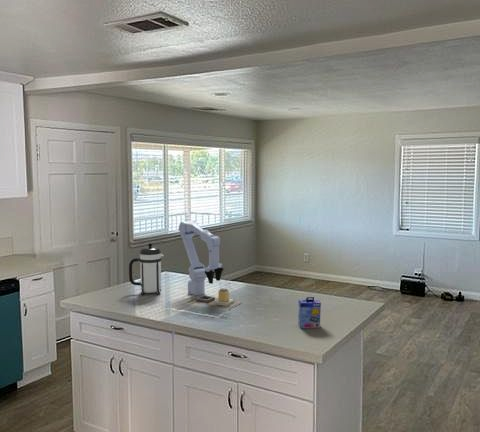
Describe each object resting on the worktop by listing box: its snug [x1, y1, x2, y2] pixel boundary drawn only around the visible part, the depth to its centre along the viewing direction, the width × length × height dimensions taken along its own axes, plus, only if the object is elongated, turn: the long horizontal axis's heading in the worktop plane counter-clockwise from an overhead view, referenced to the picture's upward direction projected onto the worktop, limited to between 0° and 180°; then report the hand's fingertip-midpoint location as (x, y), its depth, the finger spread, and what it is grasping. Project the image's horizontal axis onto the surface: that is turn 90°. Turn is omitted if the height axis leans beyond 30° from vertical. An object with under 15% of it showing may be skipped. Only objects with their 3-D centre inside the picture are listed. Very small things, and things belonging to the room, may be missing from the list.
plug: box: [218, 287, 230, 302], centre depth 260 cm, size 4×4×8 cm
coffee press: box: [128, 242, 165, 296], centre depth 284 cm, size 17×16×30 cm
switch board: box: [188, 295, 243, 311], centre depth 263 cm, size 26×14×1 cm, turn 61°
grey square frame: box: [196, 294, 216, 303], centre depth 266 cm, size 8×8×2 cm
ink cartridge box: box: [297, 296, 322, 329], centre depth 225 cm, size 10×6×14 cm, turn 95°
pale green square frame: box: [214, 298, 235, 306], centre depth 260 cm, size 8×8×2 cm
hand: (214, 281), depth 269 cm, fingers open, 7 cm apart
